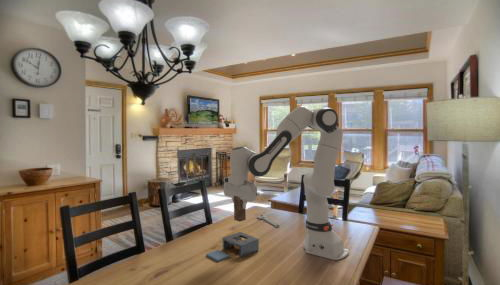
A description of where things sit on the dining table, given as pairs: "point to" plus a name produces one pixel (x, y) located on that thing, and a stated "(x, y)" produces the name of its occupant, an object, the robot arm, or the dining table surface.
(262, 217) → the adjustable wrench
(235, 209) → the brown block
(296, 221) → the dining table surface
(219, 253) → the pad
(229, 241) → the guard
